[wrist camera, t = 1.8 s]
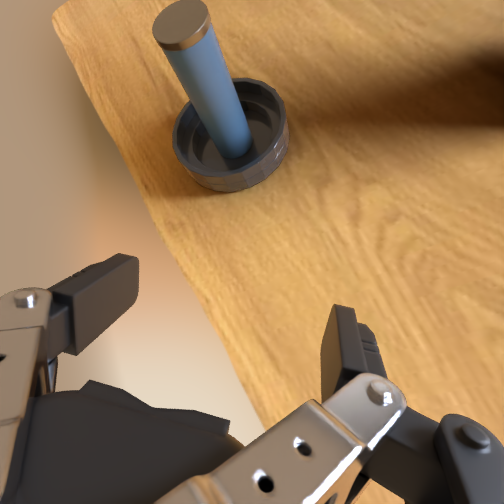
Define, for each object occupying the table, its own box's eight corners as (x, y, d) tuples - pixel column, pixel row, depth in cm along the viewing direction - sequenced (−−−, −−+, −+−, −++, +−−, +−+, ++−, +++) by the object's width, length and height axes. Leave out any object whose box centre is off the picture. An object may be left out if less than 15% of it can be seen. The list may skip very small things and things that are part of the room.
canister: (228, 123, 41) (172, -6, 27) (260, 133, 40) (218, 1, 25) (210, 153, 41) (141, 37, 26) (241, 164, 39) (186, 47, 24)
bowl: (219, 92, 44) (209, 68, 41) (309, 116, 39) (306, 91, 36) (167, 172, 42) (151, 155, 38) (256, 209, 37) (247, 193, 33)
